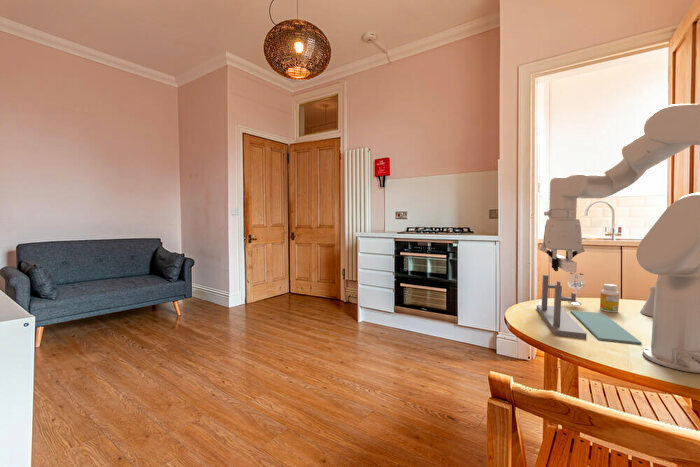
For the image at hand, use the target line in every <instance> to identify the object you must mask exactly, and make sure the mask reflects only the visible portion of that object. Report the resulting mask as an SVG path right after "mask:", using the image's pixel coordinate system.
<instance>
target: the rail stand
mask: <svg viewBox="0 0 700 467" xmlns="http://www.w3.org/2000/svg"><path fill="white" fill-rule="evenodd" d="M541 287H542V288H541V304H539V305H538V304H537V305H536V309H537V310H536V311H537V312H538V313H539V314H540V316H541V318H543V321H544V322H545V323H546V324H547V326H548V327H549V329H550V330H551V331H552V333H553V335H554V336H561V337H571V338H578V339H587V332H586V331H585V330H584V329H583V328H582V327H581V326H580V325H579V324H578V323H577V322H576V320H574V318H572V317H571V315H569V313H568V312H567V311H565V309H564V308H563V307H562V302H575V301H577V294H575V293H574V292H571V296H562V292H563V291H562V288H563V286H562V285H561V281H560V280H557V281H556V284H549V274H542V286H541ZM549 289H554V297H553V298H554V299H553V300H554V301H553V306H551V305H548V298H549V296H548V293H549Z"/></svg>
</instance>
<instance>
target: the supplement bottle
mask: <svg viewBox="0 0 700 467" xmlns="http://www.w3.org/2000/svg"><path fill="white" fill-rule="evenodd" d="M617 290H618V285H617V284H613V283H604V284H603V289H601V290H600V303H599V304H600V306H599V310H601V311H603V312H606V313H618V312H619V305H620V304H619V301H620V292H619V291H617Z"/></svg>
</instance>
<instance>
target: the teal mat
mask: <svg viewBox="0 0 700 467" xmlns="http://www.w3.org/2000/svg"><path fill="white" fill-rule="evenodd" d="M570 313H571V314H572V315H573V316H574V317H575V318H576V319H577V320H578V321H579V322H580V324H582V325H583V326H584V327H585V328H586V329H587V330H588V331H589V332H590V333H591V334H592V335H593V336H594V337H595V338H596V339H597V340H598V341H606V342H613V343H615V342H616V343H621V344H622V343H624V344H632V345H633V344H634V345H643V344H642V343H643V342H641V340H639V339H638V338H636V337H635V336H634V335H633V334H631V333H630V332H629V331H627V330H626V329H625V328H624V327H622V326H621V325H619V324H618V323H617V322H615V321H614V320H613V319H612V318H610V317H609V316H608V315H606V314H605V313H604V312H596V311H595V312H591V311H583V310H570Z"/></svg>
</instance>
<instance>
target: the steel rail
mask: <svg viewBox="0 0 700 467" xmlns="http://www.w3.org/2000/svg"><path fill="white" fill-rule="evenodd" d="M565 257H566V256H563V255H561V254H558V253H557V259H558V269H560V270H563V271H565V272H566V273H577V270H578V268H577V264H578V262H577V261H575V260H573V259H571V260H570V259H568V258H565ZM548 262H549V263H550V264H552V258H551V257H550V256H549V255H548Z"/></svg>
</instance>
